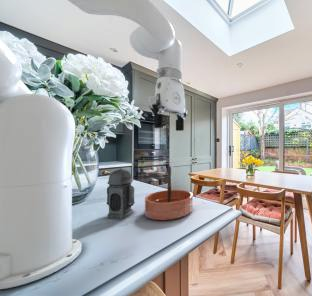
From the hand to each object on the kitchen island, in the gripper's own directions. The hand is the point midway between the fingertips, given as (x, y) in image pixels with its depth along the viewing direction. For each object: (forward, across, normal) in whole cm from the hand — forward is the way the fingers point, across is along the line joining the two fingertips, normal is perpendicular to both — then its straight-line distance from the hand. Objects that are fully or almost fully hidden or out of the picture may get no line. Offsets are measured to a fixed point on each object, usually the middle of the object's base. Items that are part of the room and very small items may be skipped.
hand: (169, 129), depth 57 cm
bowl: (+28, 0, 0) cm, 28 cm away
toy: (+28, -9, +12) cm, 32 cm away
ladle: (+28, 0, 0) cm, 28 cm away
